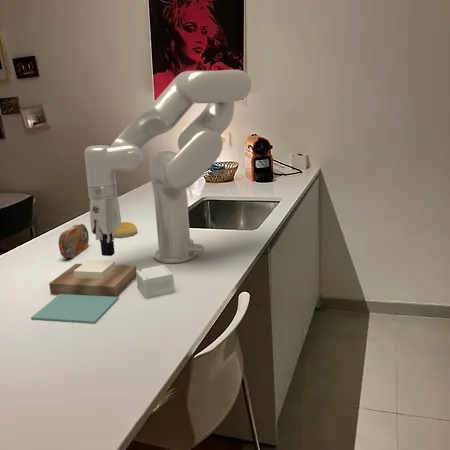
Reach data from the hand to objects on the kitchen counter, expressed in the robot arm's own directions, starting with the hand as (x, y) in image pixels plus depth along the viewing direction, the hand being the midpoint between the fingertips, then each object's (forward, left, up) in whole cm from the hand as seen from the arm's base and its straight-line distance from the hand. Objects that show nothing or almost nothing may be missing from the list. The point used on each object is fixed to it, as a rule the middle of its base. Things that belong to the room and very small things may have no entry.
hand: (108, 254), depth 145 cm
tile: (-1, +10, -2) cm, 10 cm away
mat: (-3, +25, -5) cm, 25 cm away
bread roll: (+10, -33, -5) cm, 34 cm away
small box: (-18, +12, -5) cm, 22 cm away
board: (-1, +11, -5) cm, 12 cm away
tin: (+17, -12, -5) cm, 22 cm away
